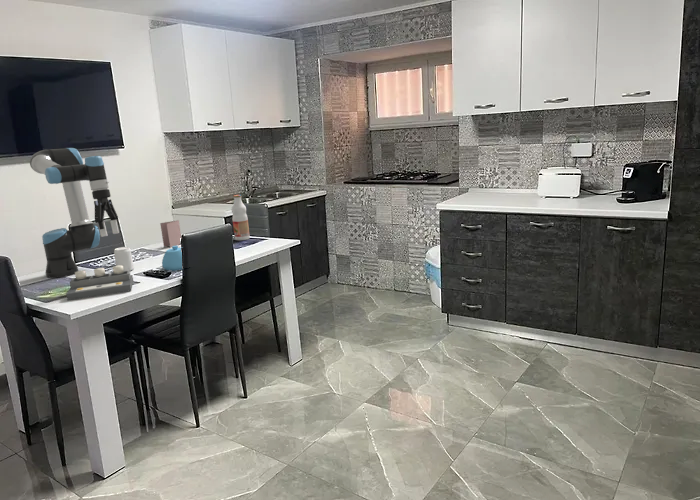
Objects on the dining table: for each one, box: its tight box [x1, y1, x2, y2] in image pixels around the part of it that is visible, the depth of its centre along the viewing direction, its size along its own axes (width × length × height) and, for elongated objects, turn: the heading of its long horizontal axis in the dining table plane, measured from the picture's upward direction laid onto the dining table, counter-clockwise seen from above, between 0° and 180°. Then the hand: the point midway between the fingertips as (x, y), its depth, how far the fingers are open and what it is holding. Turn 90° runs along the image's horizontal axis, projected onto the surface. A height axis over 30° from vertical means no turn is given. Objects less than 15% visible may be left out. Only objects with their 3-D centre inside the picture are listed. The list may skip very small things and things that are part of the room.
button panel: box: [65, 270, 134, 301], centre depth 242 cm, size 18×26×6 cm
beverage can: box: [113, 246, 135, 272], centre depth 274 cm, size 8×8×12 cm
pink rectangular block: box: [159, 219, 182, 249], centre depth 328 cm, size 11×7×15 cm, turn 124°
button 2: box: [112, 265, 124, 274], centre depth 246 cm, size 4×4×3 cm
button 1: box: [74, 269, 88, 279], centre depth 241 cm, size 4×4×3 cm
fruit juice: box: [231, 194, 250, 241], centre depth 332 cm, size 9×9×28 cm
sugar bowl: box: [161, 245, 183, 272], centre depth 274 cm, size 15×15×12 cm
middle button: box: [93, 267, 107, 277], centre depth 244 cm, size 4×4×3 cm
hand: (110, 234), depth 248 cm, fingers open, 13 cm apart
